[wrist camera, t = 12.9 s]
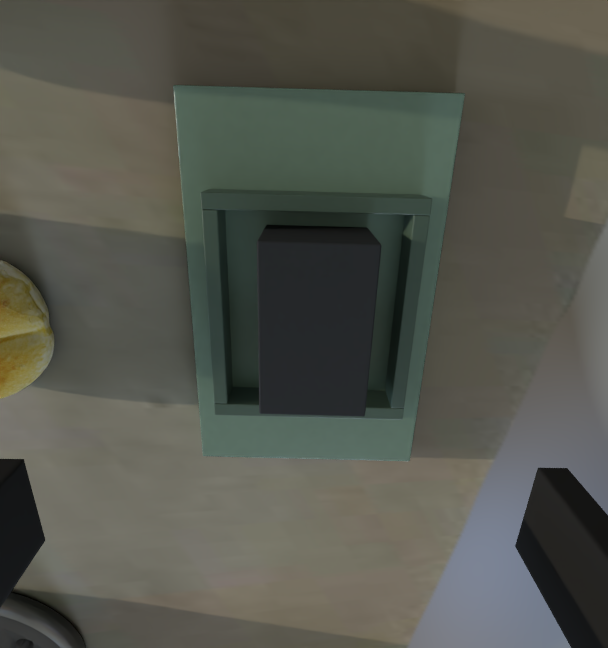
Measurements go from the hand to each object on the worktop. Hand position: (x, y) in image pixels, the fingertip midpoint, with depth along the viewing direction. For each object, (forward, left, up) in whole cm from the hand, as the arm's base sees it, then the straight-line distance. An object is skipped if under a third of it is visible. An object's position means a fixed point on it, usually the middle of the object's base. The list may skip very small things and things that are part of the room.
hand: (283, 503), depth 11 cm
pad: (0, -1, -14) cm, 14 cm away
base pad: (0, -1, -16) cm, 16 cm away
